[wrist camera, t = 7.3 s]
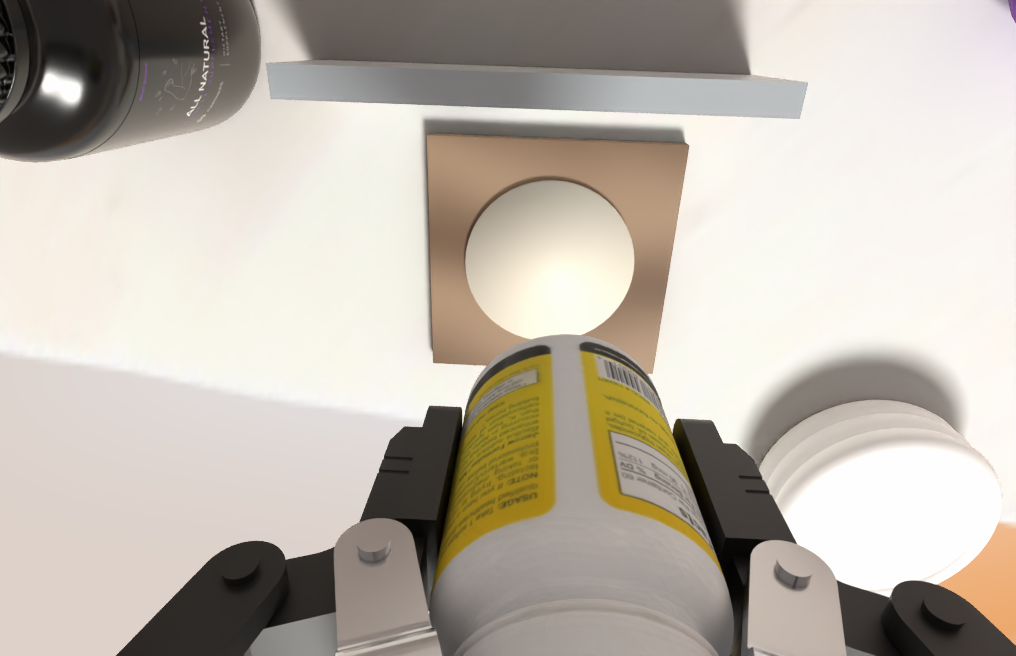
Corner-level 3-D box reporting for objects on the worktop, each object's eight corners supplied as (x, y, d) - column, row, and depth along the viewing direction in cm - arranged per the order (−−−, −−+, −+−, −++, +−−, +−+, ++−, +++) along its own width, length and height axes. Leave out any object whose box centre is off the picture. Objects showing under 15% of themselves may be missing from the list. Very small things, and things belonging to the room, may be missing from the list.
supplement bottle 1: (296, 104, 23) (78, 158, 12) (141, 145, 24) (-191, 229, 13) (219, -105, 20) (-159, -285, 9) (46, -49, 21) (-482, -151, 10)
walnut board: (429, 133, 23) (426, 136, 22) (685, 142, 23) (690, 146, 22) (435, 356, 27) (432, 365, 27) (650, 367, 27) (653, 375, 26)
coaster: (789, 380, 27) (822, 424, 24) (996, 410, 27) (1056, 457, 24) (724, 537, 32) (745, 591, 28) (903, 562, 32) (944, 619, 29)
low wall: (321, 59, 22) (266, 63, 17) (751, 74, 21) (807, 82, 17) (324, 88, 22) (270, 98, 18) (745, 103, 22) (799, 119, 17)
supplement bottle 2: (469, 485, 16) (405, 894, 8) (463, 326, 14) (370, 675, 6) (649, 490, 15) (757, 915, 8) (671, 330, 13) (844, 696, 6)
